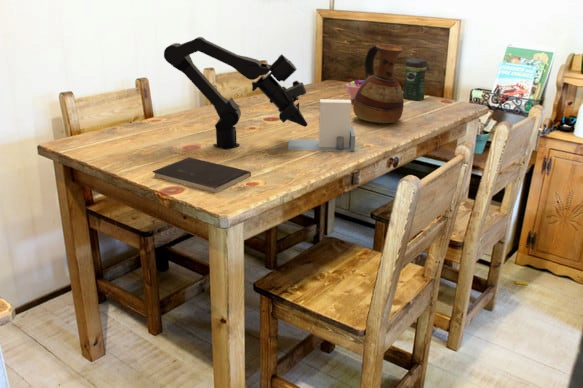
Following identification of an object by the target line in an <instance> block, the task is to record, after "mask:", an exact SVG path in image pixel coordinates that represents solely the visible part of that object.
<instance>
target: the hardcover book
mask: <svg viewBox="0 0 583 388" xmlns="http://www.w3.org/2000/svg"><path fill="white" fill-rule="evenodd" d="M152 173H154V177H155V176H156V177H155V178H158V177H159V179H161V178H163V180H165V179H167V180H166V181H169V180H171V181H170V182H173V181H174V182H173V183H177V182H178V184H180V183H181V184H180V185H184V184H185V186H188V185H189V186H188V187H192V186H193V187H192V188H196V187H197V188H196V189H199V188H200V189H201V190H204V191H207V192H211V193H214V192H215V193H216V194H217V193H218V192H220V191H222V190H224V189H227V188H228V187H229V188H230V187H231V186H233V185H235V184H237V183H239V182H241V181H244V180H246V179H247V178H249V177H251V175H252V173H251V170H246V169H242V168H237V167H233V166H228V165H226V164H225V165H223V164H220V163H215V162H211V161H208V160H203V159H199V158H193V157H186V158H183V159H181V160H178V161H176V162H173V163H171V164H167V165H166V166H163V167H159V168H158V169H155V170H152ZM200 189H199V190H200ZM215 193H214V194H215Z"/></svg>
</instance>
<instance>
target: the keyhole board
mask: <svg viewBox="0 0 583 388" xmlns="http://www.w3.org/2000/svg"><path fill="white" fill-rule="evenodd" d="M355 147H356V134H355V130H354V127H353V126H351V125H350V140H349V147H344V137H342V136H338V137H337V140H336V147H319V139H290V138H289V140H288V147H287V150H288V151H318V152H319V151H321V152H324V151H326V152H327V151H329V152H331V151H333V152H335V151H336V152H356V148H355Z"/></svg>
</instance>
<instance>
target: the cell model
mask: <svg viewBox="0 0 583 388" xmlns="http://www.w3.org/2000/svg"><path fill="white" fill-rule="evenodd" d="M365 80H366V79H365ZM365 80H364V79H363V80H362V79H360V80H359V79H355V80H353V81H349V82H347V83H345V90H346V93H347V94H348V95H349V97H350V98H351V99H353V100H354V99H355V95H356V93H357V91H358V89H359V88H360V86H361V85H362V83H363V82H364V81H365Z"/></svg>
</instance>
